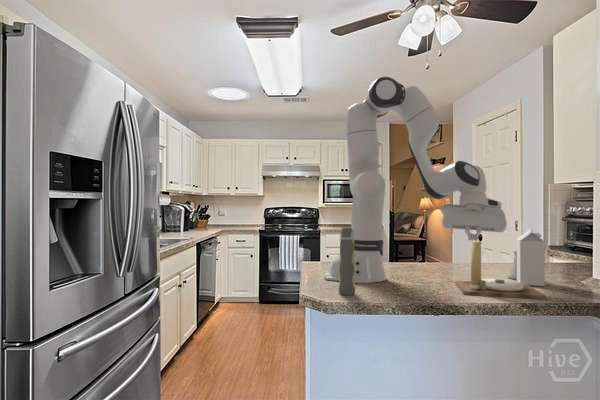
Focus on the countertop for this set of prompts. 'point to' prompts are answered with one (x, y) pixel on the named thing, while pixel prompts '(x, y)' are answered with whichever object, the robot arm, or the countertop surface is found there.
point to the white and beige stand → (490, 283)
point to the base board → (525, 293)
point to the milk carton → (531, 259)
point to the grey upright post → (347, 262)
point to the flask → (513, 268)
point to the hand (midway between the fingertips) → (473, 239)
